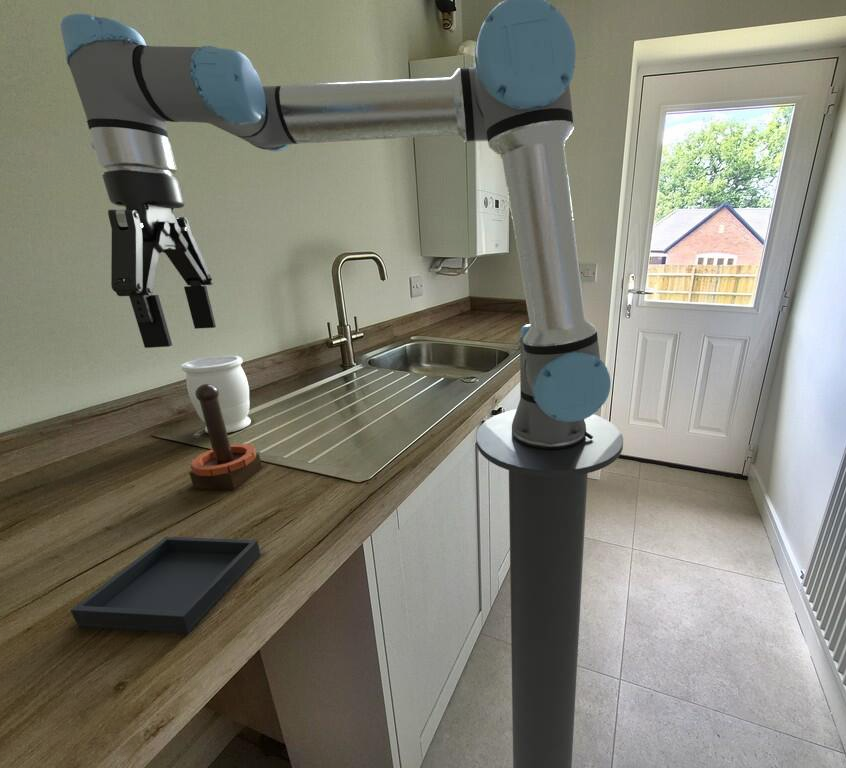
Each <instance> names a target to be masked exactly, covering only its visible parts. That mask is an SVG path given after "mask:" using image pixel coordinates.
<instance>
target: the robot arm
mask: <svg viewBox="0 0 846 768" xmlns="http://www.w3.org/2000/svg"><path fill="white" fill-rule="evenodd" d="M60 32H61V36H62V39H63V44H64V49H65V53H66V54H65V55H66V56H65V59H66V64H67V66H68V67H69V69H70V72H71V75H72V78H73V81H74V85H75V87H76V90H77V93H78V96H79V98H80V99H79V100H80V101H81V105H82V108H83V110H84V114H85V118H86V123H87V127H88V130H89V133H90V138H91V140H92V141H91V144H90V146H91V148H92V149H93V150H94V151H95V154H96V157H97V160H98V161H97V162H98V164H99V166H101V167H102V168H103V169H106V170H107V171H104V172H103V174H102V176H101V177H102V180H103V183H104V186H105V190H106V192H107V196H108V200H109V202H110V203H111V204H113V205H115V206H118V207H125V209H108V210H107V215H108V219H109V223H110V228H111V260H110V261H111V264H110V265H111V267H110V268H111V269H110V270H111V271H110V273H111V275H110V276H111V277H110V280H111V282H110V285H111V289H112V290H113V292H114V293H115V294H116V295H117V296H118V297H129V301H130V303H131V307H132V310H133V313H134V317H135V320H136V324H137V326H138V330H139V334H140V336H141V339H142V343H143V346H144V349H149V348H150V349H151V348H167V347H171V346H173V342H172V338H171V335H170V332H169V329H168V324H167V321H166V318H165V314H164V311H163V307H162V302H161V299H160V296H159V294H153V293H154V287H155V280H156V275H157V269H158V265H159V264H158V263H159V257H160V254H161V253H163V254H165V255H166V257H167V258H168V259H169V261H170V262H171V263H172V265H173V266H174V268H175V270H176V271H177V272H178V273H179V275H180V276H181V279H183V281H184V282H185V284H186V286H185V285H184V286H183V289H184V293H185V297H186V301H187V305H188V308H189V311H190V316H191V320H192V323H193V327H194V329H196V330H198V329H214V328H217V325H216V321H215V317H214V313H213V308H212V304H211V300H210V296H209V292H208V287H207V286H213V284H214V280H213V278H212V275H211V272H210V270H209V268H208V266H207V263H206V261H205V260H204V257H203V255H202V252H201V251H200V248H199V246H198V244H197V241H196V239H195V237H194V235H193V233H192V230H191V226H190V223H189V219H188V218H187V217H186V216H176V215H175V213H174V212H173V211H174V209H182V208H183V207H185V200H184V195H183V191H182V188H181V184H180V180H179V179H177V177H175V176H174V175H175V174H177V172H178V168H177V165H176V160H175V157H174V153H173V148H172V145H171V141H170V139H169V138H170V137H169V135H168V129H167V124H166V123H167V122H170V123H203V124H210V125H212V126H214V127H216V128H218V129H220V130H223V131H225V132H226V133H229V134H230V135H232V136H235V137H238V138H239V139H241V140H244V141H245V142H247V143H249V144H250V145H252V146H254V147H256V148H258V149H261V150H264V151H270V152H282V151H284V150H286V149H288V148H289V147H290V146H291V145H299V144H317V143H336V142H337V143H338V142H354V141H355V142H356V141H374V140H392V139H410V138H429V137H448V136H449V137H450V136H457V137H459V138H460V139H461V140H462V141H463V142H464V143H475V142H476V143H477V142H478V143H479V142H487V144H488V148H489V149H491V150H492V151H493V152H494V153H495V154H496V155H498V157H500V158H501V160H502V166H503V173H504V179H505V184H506V190H507V191H506V192H507V196H508V202H509V208H510V215H511V220H512V226H513V233H514V238H515V243H516V244H515V245H516V250H517V254H518V262H519V269H520V273H521V280H522V287H523V291H524V297H525V304H526V310H527V315H528V321H529V323H528V324H524V325H523V326H521V329H520V334H519V335H520V336H519V339H518V342H519V345H520V346H519V349H520V350H519V356H520V357H519V366H520V367H519V368H520V371H519V376H520V377H519V380H520V383H519V386H520V387H519V388H520V392H519V393H520V394H519V395H520V398H519V402H518V404H517V408H516V409H517V410H516V413H515V416H514V419H513V422H512V436H513V438H514V439H515V440H516V441H517V442H518V443H520V444H522V445H524V446H527V447H530V448H534V449H540V450H562V449H568V448H571V447H574V446H577V445H579V444H580V443H582V442H583V441H584V439H585V437H586V436H587V437H588V438H589V439H592V438H593V436H591V435H590V434H589V433H587V432H586V424H585V421H584V419H586V418H588V417H590V416H591V415H593V414H596V413H597V412H598V411H599V410H600V408H602V407H603V405H604V404H605V403H606V401H607V399H608V398H609V395H610V391H611V386H612V384H611V383H612V381H611V375H610V373H609V370H608V367H607V365H606V363H605V362H604V361H603V360H602V359H601V355H600V346H599V337H598V329H597V326H595V325H594V324H593V323H592V322H590V321H589V320H588V319H587V318H586V314H585V306H584V299H583V298H584V297H583V289H582V280H581V279H582V278H581V272H580V265H579V256H578V247H577V237H576V231H575V223H574V213H573V206H572V198H571V189H570V181H569V173H568V165H567V164H568V163H567V156H566V147H565V145H566V143H567V139H568V138H569V136H571V134H572V132H573V131H574V128H575V125H574V117H573V107H572V106H573V105H572V98H571V87H570V84H571V81H572V80H573V76H574V72H575V68H576V57H577V56H576V55H577V54H576V42H575V38H574V34H573V31H572V29H571V26H570V24H569V22H568V20H567V19H566V17H565V16H564V15H563V13H562V12H561V11H560V10H559V9H557V8H556V6H554V5H553V4H552V3H550V2H549V1H547V0H503V1H501V2H499V3H498V4H497V5H495V7H494V8H493V9H492V10H491V11H489V13H488V15H486V17H485V20H484V21H483V23H482V25H481V27H480V30H479V33H478V37H477V39H476V44H475V47H474V64H475V66H473V67H463V68H460V67H459V68H457V69H456V70H455V72H454V73H453V75H452V76H450V77H432V78H431V77H429V78H409V79H408V78H407V79H390V80H389V79H388V80H386V79H385V80H368V81H367V80H366V81H365V80H364V81H344V82H325V83H324V82H323V83H321V82H320V83H303V84H300V83H299V84H283V85H264V86H263V84H262V81H261V78H260V76H259V74H258V71H257V70H256V69H255V68H254V65H253V63H252V62H251V61H250V59H249V58H248V57H247V56H246V55H245V54H244V53H242V52H241V51H238V50H237V49H231V48H222V47H217V46H213V45H202V46H167V45H166V46H164V45H163V46H162V45H161V46H157V45H147V44H146V40H145V39H144V38H143V36H142V35H141V33H139V32H138V31H137V30H135V29H134V28H133V27H131V26H128V25H126V24H125V23H122V22H120V21H117V20H114V19H111V18H108V17H104V16H103V17H99V16H95V15H93V14H87V13H72V14H69V15H66V16H64V17H63V18H62V20H61V22H60Z"/></svg>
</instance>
